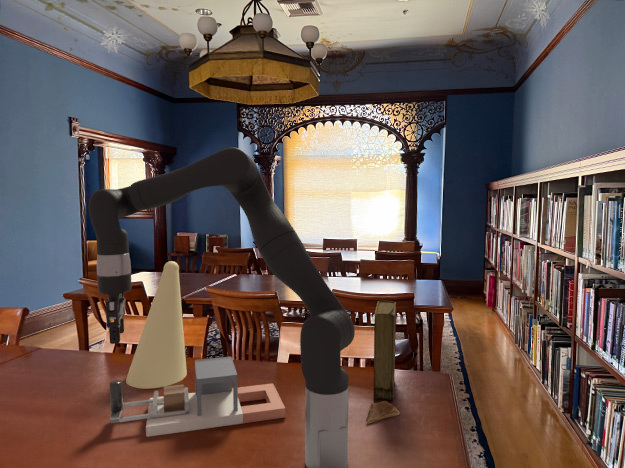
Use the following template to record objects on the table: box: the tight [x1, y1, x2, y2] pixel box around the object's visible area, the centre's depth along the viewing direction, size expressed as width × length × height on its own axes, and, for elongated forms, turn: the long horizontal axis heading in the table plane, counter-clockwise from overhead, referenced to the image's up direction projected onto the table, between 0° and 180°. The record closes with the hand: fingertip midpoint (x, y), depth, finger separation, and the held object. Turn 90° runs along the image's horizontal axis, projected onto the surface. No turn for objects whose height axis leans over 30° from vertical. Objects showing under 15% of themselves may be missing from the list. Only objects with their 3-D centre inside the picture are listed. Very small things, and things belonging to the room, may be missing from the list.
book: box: [372, 300, 397, 402], centre depth 133 cm, size 16×6×25 cm, turn 168°
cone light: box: [125, 260, 188, 390], centre depth 146 cm, size 25×18×35 cm
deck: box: [145, 383, 286, 438], centre depth 120 cm, size 16×34×2 cm, turn 106°
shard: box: [365, 400, 401, 425], centre depth 120 cm, size 11×8×2 cm
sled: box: [109, 379, 189, 424], centre depth 115 cm, size 9×19×8 cm, turn 106°
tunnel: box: [194, 356, 238, 416], centre depth 121 cm, size 14×10×10 cm
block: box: [163, 384, 185, 412], centre depth 117 cm, size 5×5×5 cm
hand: (117, 337), depth 111 cm, fingers open, 8 cm apart
